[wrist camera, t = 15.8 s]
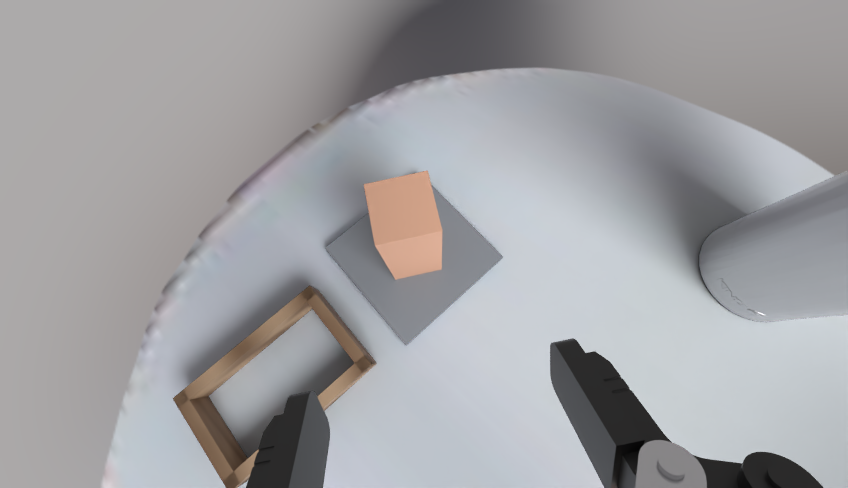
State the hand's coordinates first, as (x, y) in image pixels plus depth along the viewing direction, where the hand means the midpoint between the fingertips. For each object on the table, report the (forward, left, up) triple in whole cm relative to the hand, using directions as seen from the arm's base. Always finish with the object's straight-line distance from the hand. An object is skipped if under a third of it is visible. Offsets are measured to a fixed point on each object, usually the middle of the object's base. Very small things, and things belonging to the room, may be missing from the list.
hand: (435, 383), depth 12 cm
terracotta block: (-5, -9, -20) cm, 22 cm away
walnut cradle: (+11, -8, -20) cm, 25 cm away
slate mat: (-5, -9, -20) cm, 23 cm away
